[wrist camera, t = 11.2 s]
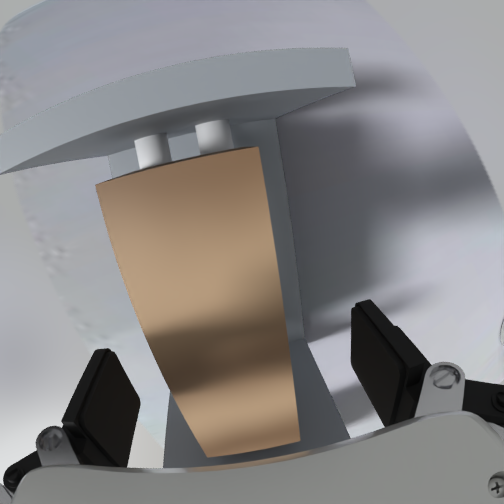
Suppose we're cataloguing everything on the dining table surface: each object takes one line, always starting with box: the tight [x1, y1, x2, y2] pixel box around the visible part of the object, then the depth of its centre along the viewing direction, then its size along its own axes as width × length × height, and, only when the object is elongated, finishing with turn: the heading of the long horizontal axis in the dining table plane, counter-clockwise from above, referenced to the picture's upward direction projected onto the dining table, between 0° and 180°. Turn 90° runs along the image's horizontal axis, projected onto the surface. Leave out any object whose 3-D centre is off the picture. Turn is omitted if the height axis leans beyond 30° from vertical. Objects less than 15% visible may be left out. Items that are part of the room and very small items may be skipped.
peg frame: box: [0, 48, 356, 468], centre depth 15 cm, size 19×11×12 cm, turn 10°
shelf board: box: [95, 147, 300, 458], centre depth 13 cm, size 14×5×5 cm, turn 10°
